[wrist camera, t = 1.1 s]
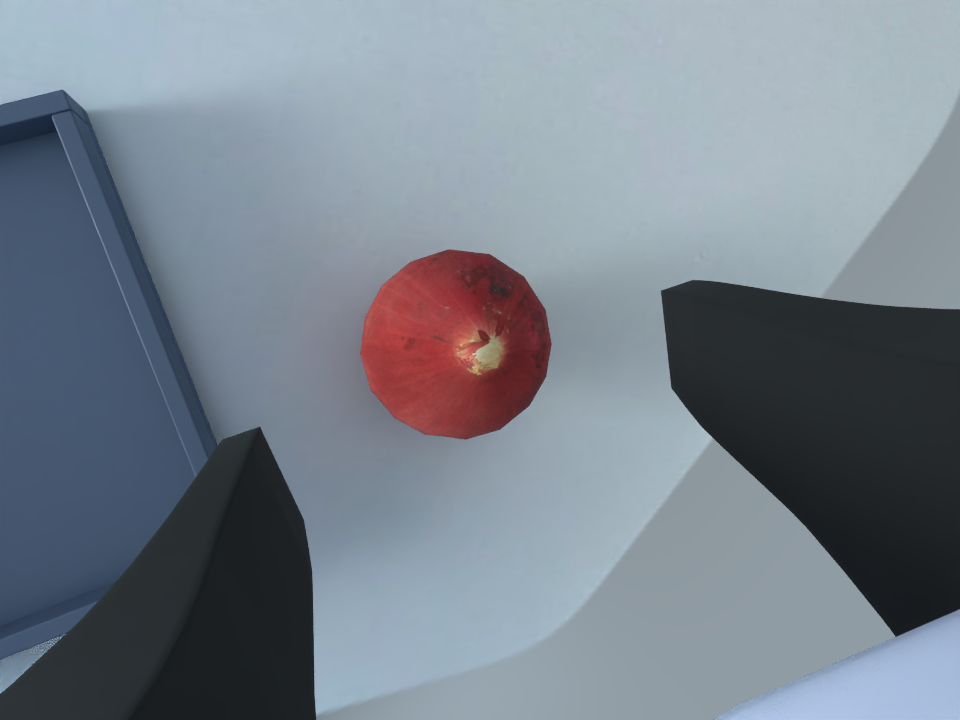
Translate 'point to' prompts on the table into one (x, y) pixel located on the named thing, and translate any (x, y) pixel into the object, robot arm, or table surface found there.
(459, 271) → the red pomegranate
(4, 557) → the tray
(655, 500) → the table surface
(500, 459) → the table surface
